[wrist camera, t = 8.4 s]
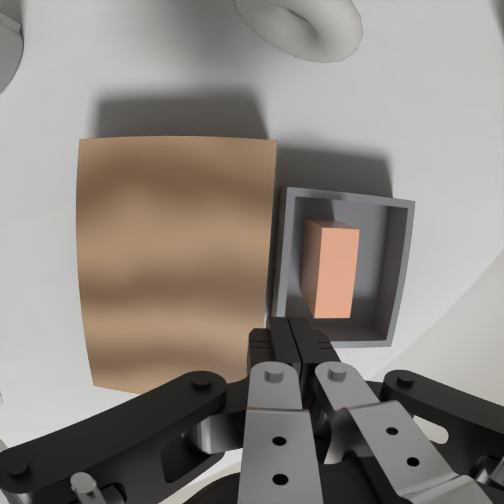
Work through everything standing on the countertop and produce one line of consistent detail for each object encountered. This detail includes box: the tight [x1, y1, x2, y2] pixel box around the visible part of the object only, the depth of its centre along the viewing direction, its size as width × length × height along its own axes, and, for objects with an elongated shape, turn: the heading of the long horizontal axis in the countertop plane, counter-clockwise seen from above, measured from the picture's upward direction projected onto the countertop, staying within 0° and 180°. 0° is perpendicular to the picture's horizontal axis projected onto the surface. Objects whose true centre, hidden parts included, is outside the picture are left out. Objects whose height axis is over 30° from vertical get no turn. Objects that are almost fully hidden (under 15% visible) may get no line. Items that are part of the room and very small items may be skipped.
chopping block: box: [76, 136, 277, 394], centre depth 24 cm, size 20×14×5 cm
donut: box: [235, 0, 363, 63], centre depth 18 cm, size 10×4×10 cm, turn 60°
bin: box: [271, 187, 415, 348], centre depth 25 cm, size 12×10×4 cm
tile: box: [300, 218, 360, 318], centre depth 23 cm, size 6×6×2 cm
